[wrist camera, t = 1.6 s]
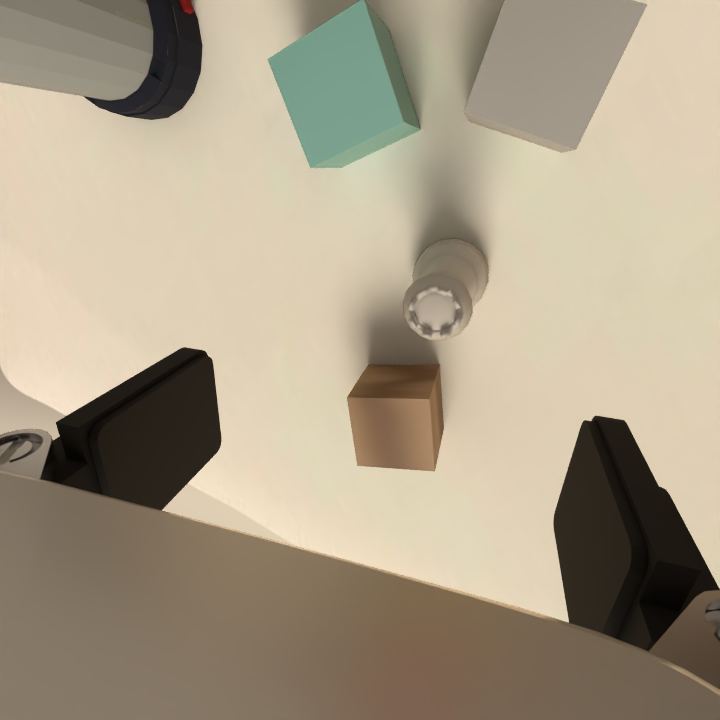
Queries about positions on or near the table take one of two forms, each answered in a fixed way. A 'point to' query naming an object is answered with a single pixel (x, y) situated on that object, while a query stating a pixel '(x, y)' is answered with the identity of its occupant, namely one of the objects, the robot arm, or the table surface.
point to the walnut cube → (397, 416)
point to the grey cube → (550, 67)
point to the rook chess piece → (445, 289)
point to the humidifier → (104, 51)
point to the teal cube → (345, 89)
